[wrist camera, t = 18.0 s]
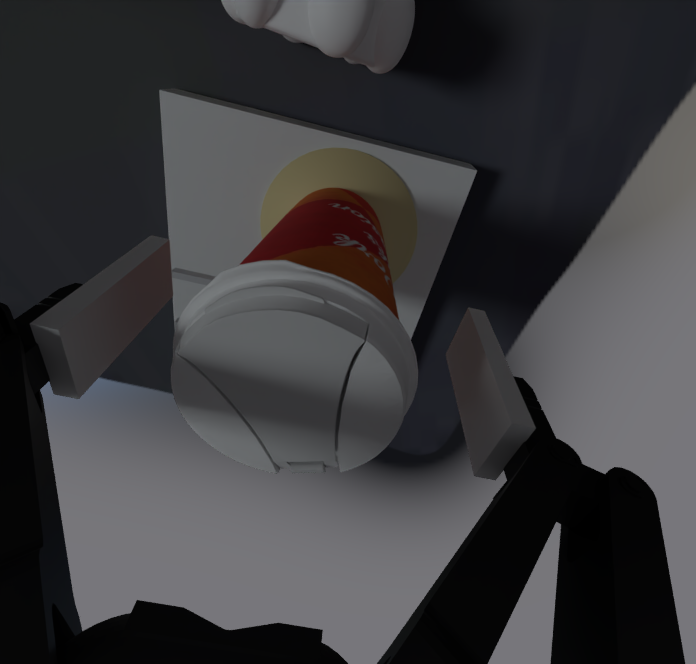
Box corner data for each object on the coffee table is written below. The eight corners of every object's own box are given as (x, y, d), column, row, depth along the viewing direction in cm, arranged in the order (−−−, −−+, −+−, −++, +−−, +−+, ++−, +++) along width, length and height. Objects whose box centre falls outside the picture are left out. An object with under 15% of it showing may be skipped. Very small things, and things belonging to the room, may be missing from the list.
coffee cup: (403, 286, 26) (425, 484, 13) (287, 297, 27) (207, 488, 14) (395, 154, 21) (417, 268, 9) (254, 173, 22) (96, 298, 10)
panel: (187, 351, 33) (159, 390, 29) (175, 88, 22) (128, 92, 18) (383, 392, 34) (383, 435, 30) (470, 163, 23) (490, 183, 19)
